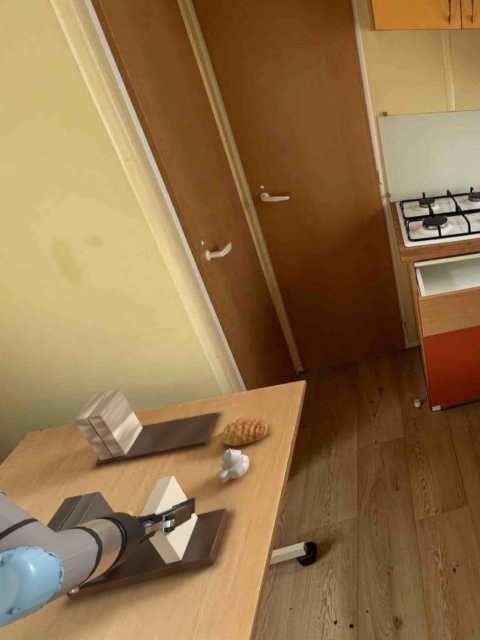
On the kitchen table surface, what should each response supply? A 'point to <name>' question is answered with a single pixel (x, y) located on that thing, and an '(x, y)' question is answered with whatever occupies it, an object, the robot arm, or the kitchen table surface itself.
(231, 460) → the white garlic bulb
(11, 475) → the kitchen table surface
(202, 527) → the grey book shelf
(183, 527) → the white book
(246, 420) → the pastry
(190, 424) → the wooden bookend
